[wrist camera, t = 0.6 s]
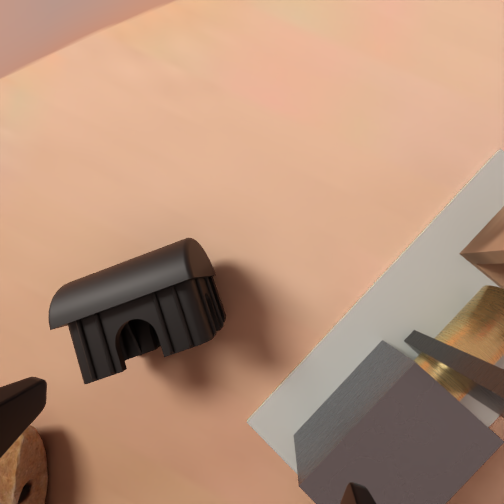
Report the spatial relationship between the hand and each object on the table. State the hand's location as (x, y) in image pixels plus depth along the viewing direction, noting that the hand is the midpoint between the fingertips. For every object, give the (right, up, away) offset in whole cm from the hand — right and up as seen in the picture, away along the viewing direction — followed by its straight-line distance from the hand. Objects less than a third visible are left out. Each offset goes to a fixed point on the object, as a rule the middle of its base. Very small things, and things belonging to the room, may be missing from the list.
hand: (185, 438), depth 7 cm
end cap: (-6, +1, +16) cm, 17 cm away
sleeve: (+11, -8, +13) cm, 18 cm away
